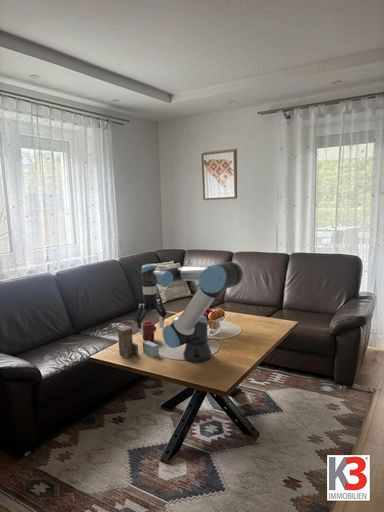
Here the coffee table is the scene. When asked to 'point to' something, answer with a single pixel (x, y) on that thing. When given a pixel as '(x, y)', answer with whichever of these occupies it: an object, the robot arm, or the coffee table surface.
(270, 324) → the coffee table surface
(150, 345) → the light blue block
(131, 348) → the post
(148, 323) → the mechanical component
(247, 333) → the coffee table surface
